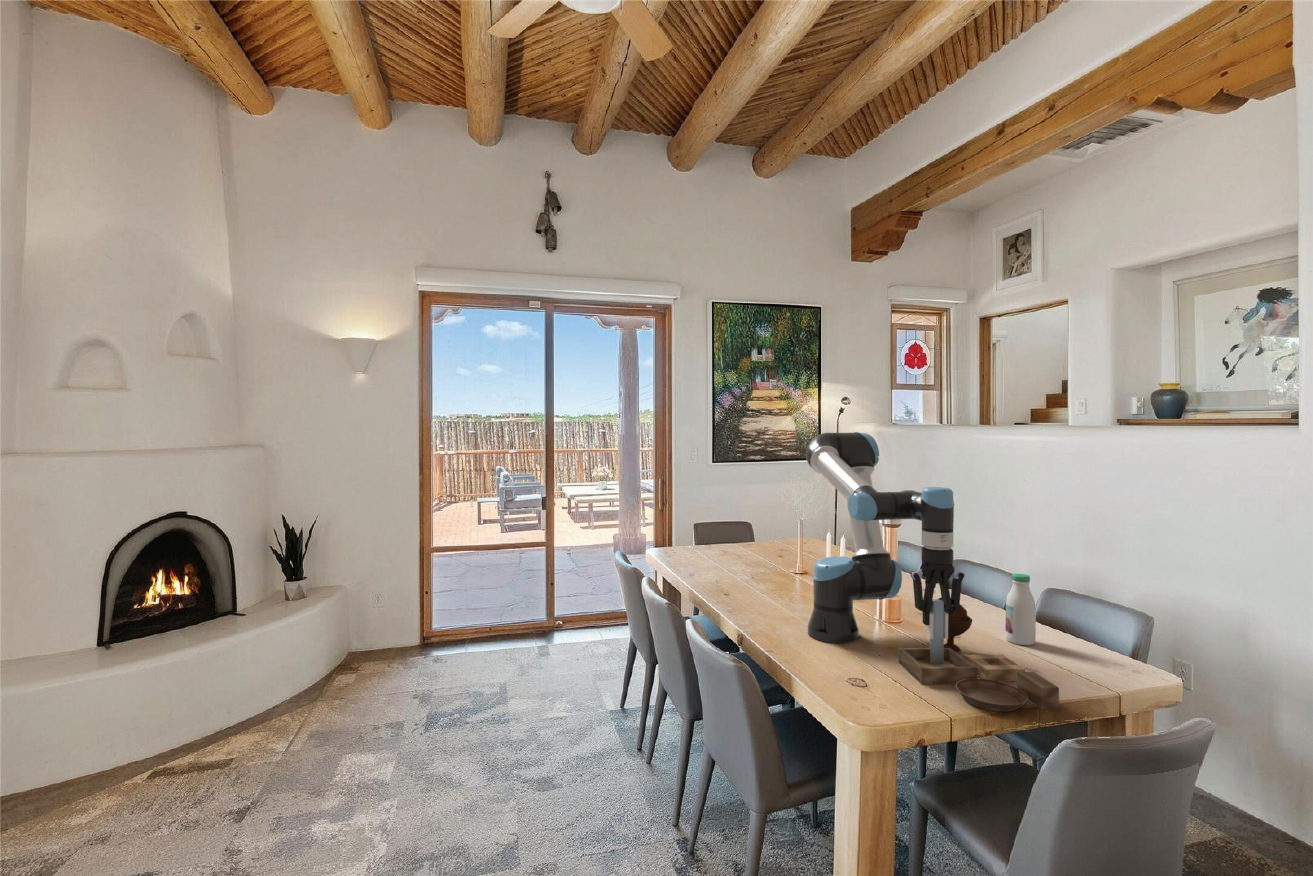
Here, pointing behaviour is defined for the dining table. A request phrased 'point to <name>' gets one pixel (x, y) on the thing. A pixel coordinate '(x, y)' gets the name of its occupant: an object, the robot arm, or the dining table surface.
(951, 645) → the ice cream bowl
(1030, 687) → the block
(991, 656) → the socket block
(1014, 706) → the saucer
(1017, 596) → the milk bottle
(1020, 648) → the dining table surface
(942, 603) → the dowel
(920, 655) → the tray
